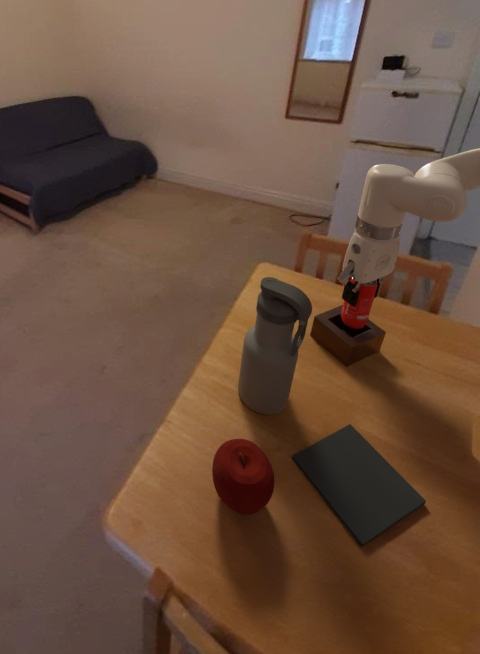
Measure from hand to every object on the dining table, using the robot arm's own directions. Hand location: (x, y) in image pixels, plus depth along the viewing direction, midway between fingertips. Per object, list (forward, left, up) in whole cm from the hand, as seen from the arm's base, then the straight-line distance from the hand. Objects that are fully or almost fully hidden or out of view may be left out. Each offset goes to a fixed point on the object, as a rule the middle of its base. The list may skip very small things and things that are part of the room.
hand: (359, 297), depth 87 cm
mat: (+23, +22, -14) cm, 35 cm away
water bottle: (+26, +3, -14) cm, 30 cm away
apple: (+42, +16, -14) cm, 47 cm away
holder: (0, 0, -14) cm, 14 cm away
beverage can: (0, 0, -7) cm, 7 cm away
